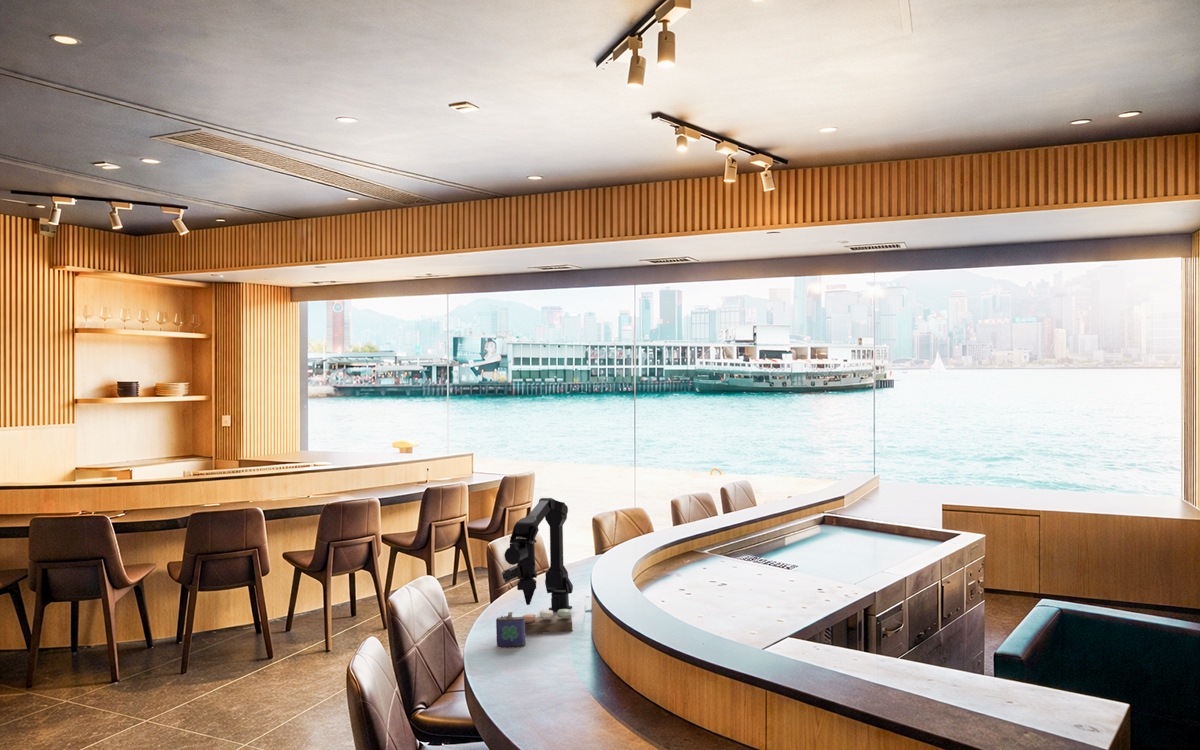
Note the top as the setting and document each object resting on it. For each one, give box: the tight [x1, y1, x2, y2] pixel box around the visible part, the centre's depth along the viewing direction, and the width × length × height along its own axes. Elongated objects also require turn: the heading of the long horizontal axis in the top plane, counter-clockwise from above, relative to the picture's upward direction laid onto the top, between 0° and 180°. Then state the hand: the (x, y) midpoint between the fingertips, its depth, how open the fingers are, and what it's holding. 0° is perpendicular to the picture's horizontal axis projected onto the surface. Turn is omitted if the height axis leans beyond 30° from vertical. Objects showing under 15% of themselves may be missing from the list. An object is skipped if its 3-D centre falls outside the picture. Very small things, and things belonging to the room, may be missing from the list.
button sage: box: [557, 608, 572, 617], centre depth 245 cm, size 4×4×2 cm
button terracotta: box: [521, 613, 536, 623], centre depth 244 cm, size 4×4×2 cm
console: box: [525, 615, 573, 635], centre depth 244 cm, size 17×8×3 cm, turn 94°
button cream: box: [539, 609, 554, 619], centre depth 244 cm, size 4×4×2 cm
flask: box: [495, 611, 526, 649], centre depth 228 cm, size 9×3×11 cm, turn 88°
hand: (528, 604), depth 244 cm, fingers closed
